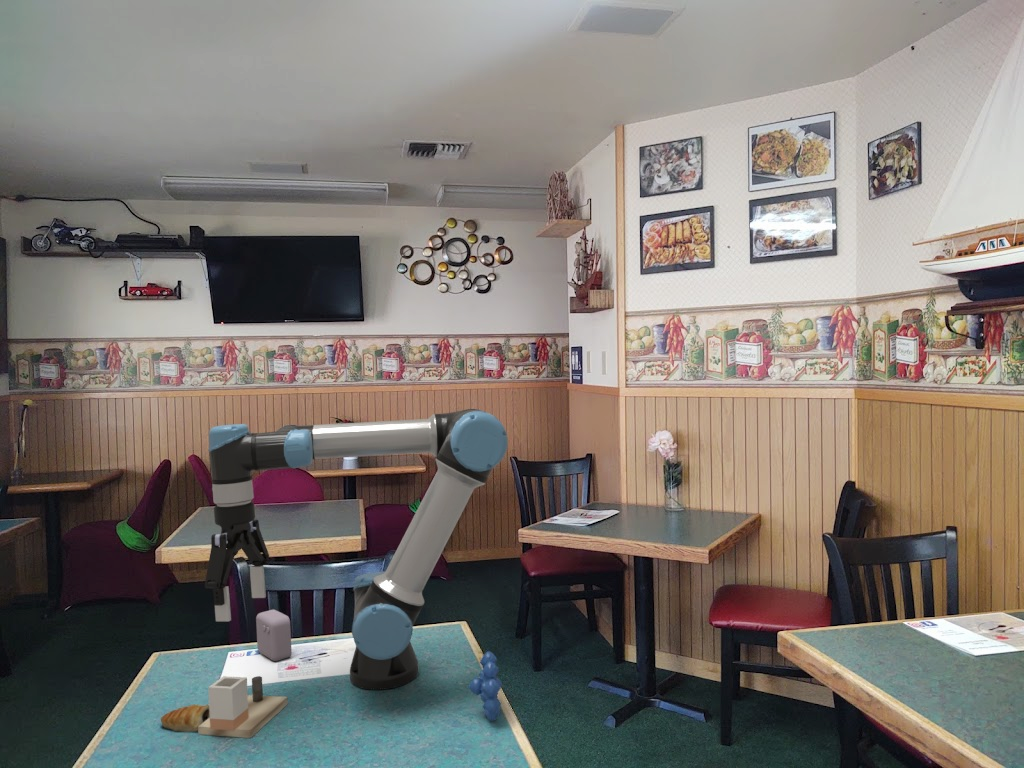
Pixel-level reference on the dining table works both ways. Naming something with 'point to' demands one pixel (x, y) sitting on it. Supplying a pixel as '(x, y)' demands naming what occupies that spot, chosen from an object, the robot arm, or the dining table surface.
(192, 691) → the dining table surface
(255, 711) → the pin board
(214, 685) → the sleeve
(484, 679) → the grapes
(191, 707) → the pastry
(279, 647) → the electronic device
